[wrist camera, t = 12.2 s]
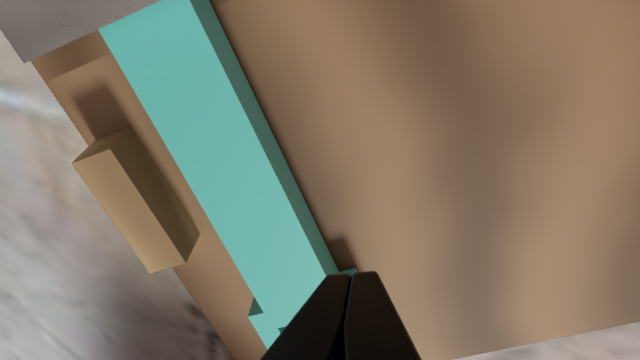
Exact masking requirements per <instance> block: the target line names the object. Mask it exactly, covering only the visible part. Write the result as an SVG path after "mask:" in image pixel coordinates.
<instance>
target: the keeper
mask: <svg viewBox="0 0 640 360" xmlns="http://www.w3.org/2000/svg"><path fill="white" fill-rule="evenodd" d="M158 1H161V0H0V29H1V31H2V32H3V34H4V35H5V37H6V38H7V39H8V41H9V42H10V44H11V45H12V47H13V48H14V50H15V51H16V52H17V54H18V55H19V57H20V58H21V60H22V61H23V63H26V62H28V61H30V60H32V59H35V58H37V57H39V56H41V55H43V54H45V53H48V52H50V51H52V50H54V49H56V48H58V47H61V46H63V45H65V44H67V43H69V42H71V41H74V40H76V39H78V38H80V37H82V36H85V35H87V34H89V33H91V32H93V31H95V30H98V29H100V28H102V27H104V26H106V25H108V24H111V23H113V22H115V21H117V20H119V19H121V18H124V17H126V16H128V15H130V14H132V13H135V12H137V11H139V10H141V9H143V8H145V7H148V6H150V5H152V4H154V3H156V2H158Z"/></svg>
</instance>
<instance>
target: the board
mask: <svg viewBox="0 0 640 360" xmlns="http://www.w3.org/2000/svg"><path fill="white" fill-rule="evenodd" d="M209 1H210V4H211V6H212V8H213V10H214V12H215V14H216V16H217V18H218V20H219V22H220V24H221V27H222V29H223V31H224V33H225V35H226V37H227V39H228V41H229V43H230V45H231V47H232V50H233V52H234V54H235V56H236V58H237V60H238V62H239V64H240V66H241V68H242V70H243V73H244V75H245V77H246V79H247V81H248V83H249V85H250V87H251V89H252V91H253V93H254V96H255V98H256V100H257V102H258V104H259V106H260V108H261V110H262V112H263V114H264V116H265V118H266V121H267V123H268V125H269V127H270V129H271V131H272V133H273V135H274V137H275V139H276V141H277V144H278V146H279V148H280V150H281V152H282V154H283V156H284V158H285V160H286V162H287V164H288V167H289V169H290V171H291V173H292V175H293V177H294V179H295V181H296V183H297V185H298V187H299V190H300V192H301V194H302V196H303V198H304V200H305V202H306V204H307V206H308V208H309V210H310V213H311V215H312V217H313V219H314V221H315V223H316V225H317V227H318V229H319V231H320V233H321V235H322V238H323V240H324V242H325V244H326V246H327V248H328V250H329V252H330V254H331V256H332V258H333V261H334V263H335V265H336V267H337V269H338V271H339V272H341V271H345V270H349V269H353V268H356V270H357V272H364V271H376V272H377V273H378V275H379V277H380V278H381V280H382V282H383V284H384V286H385V288H386V290H387V292H388V294H389V296H390V298H391V300H392V302H393V304H394V306H395V308H396V310H397V312H398V314H399V316H400V318H401V320H402V322H403V324H404V326H405V328H406V330H407V332H408V334H409V335H410V337H411V339H412V341H413V343H414V345H415V347H416V349H417V351H418V353H419V355H420V357H421V359H422V360H452V359H457V358H462V357H467V356H472V355H477V354H482V353H487V352H491V351H496V350H501V349H506V348H511V347H516V346H521V345H526V344H531V343H536V342H541V341H546V340H551V339H556V338H561V337H566V336H571V335H576V334H580V333H585V332H590V331H595V330H600V329H605V328H610V327H615V326H620V325H625V324H630V323H635V322H640V0H209ZM30 61H31V62H32V64H33V65H34V67H35V68H36V70H37V71H38V73H39V74H40V75H41V77H42V78H43V80H44V81H45V83H46V84H47V86H48V87H49V89H50V90H51V92H52V93H53V94H54V96H55V97H56V99H57V100H58V102H59V103H60V105H61V106H62V108H63V109H64V111H65V112H66V113H67V115H68V116H69V118H70V119H71V121H72V122H73V124H74V125H75V127H76V128H77V129H78V131H79V132H80V134H81V135H82V137H83V138H84V140H85V141H86V143H87V144H88V146H89V147H88V148H87V149H86V150H85V151H84V152H83V153H82V154H81V155H80V156H78V157H77V158H76V159H75V160H74V161H73V162H72V163H71V164H72V165H73V167H74V168H75V169H76V171H77V172H78V174H79V175H80V176H81V178H82V179H83V181H84V182H85V184H86V185H87V186H88V188H89V189H90V191H91V192H92V193H93V195H94V196H95V198H96V199H97V200H98V202H99V203H100V205H101V206H102V207H103V209H104V210H105V212H106V213H107V214H108V216H109V217H110V219H111V220H112V221H113V223H114V224H115V226H116V227H117V228H118V230H119V231H120V233H121V234H122V235H123V237H124V238H125V240H126V241H127V242H128V244H129V245H130V247H131V248H132V249H133V251H134V252H135V254H136V255H137V256H138V258H139V259H140V261H141V262H142V263H143V265H144V266H145V268H146V269H147V270H148V272H149V273H150V274H151V273H154V272H158V271H161V270H165V269H168V268H173V270H174V271H175V273H176V274H177V275H178V277H179V278H180V280H181V281H182V283H183V284H184V286H185V287H186V289H187V290H188V292H189V293H190V294H191V296H192V297H193V299H194V300H195V302H196V303H197V305H198V306H199V308H200V309H201V311H202V312H203V313H204V315H205V316H206V318H207V319H208V321H209V322H210V324H211V325H212V327H213V328H214V330H215V331H216V332H217V334H218V335H219V337H220V338H221V340H222V341H223V343H224V344H225V346H226V347H227V349H228V350H229V351H230V353H231V354H232V356H233V357H234V359H235V360H260V359H261V357H262V356H263V355H264V354H265V352H266V351H267V348H266V346H265V345H264V343H263V341H262V340H261V338H260V336H259V335H258V333H257V331H256V330H255V328H254V326H253V325H252V323H251V321H250V320H249V318H248V314H249V311H250V307H251V304H252V301H253V297H254V295H253V294H252V292H251V290H250V289H249V287H248V285H247V284H246V282H245V280H244V278H243V277H242V275H241V273H240V272H239V270H238V268H237V266H236V265H235V263H234V261H233V260H232V258H231V256H230V254H229V253H228V251H227V249H226V248H225V246H224V244H223V242H222V241H221V239H220V237H219V236H218V234H217V232H216V230H215V229H214V227H213V225H212V224H211V222H210V220H209V218H208V217H207V215H206V213H205V212H204V210H203V208H202V206H201V205H200V203H199V201H198V200H197V198H196V196H195V194H194V193H193V191H192V189H191V188H190V186H189V184H188V183H187V181H186V179H185V177H184V176H183V174H182V172H181V171H180V169H179V167H178V165H177V164H176V162H175V160H174V159H173V157H172V155H171V153H170V152H169V150H168V148H167V147H166V145H165V143H164V141H163V140H162V138H161V136H160V135H159V133H158V131H157V129H156V128H155V126H154V124H153V123H152V121H151V119H150V117H149V116H148V114H147V112H146V111H145V109H144V107H143V105H142V104H141V102H140V100H139V99H138V97H137V95H136V93H135V92H134V90H133V88H132V87H131V85H130V83H129V82H128V80H127V78H126V76H125V75H124V73H123V71H122V70H121V68H120V66H119V64H118V63H117V61H116V59H115V58H114V56H113V54H112V52H111V51H110V49H109V47H108V46H107V44H106V42H105V40H104V39H103V37H102V35H101V34H100V32H99V30H95V31H93V32H91V33H89V34H87V35H85V36H82V37H80V38H78V39H76V40H74V41H71V42H69V43H67V44H65V45H63V46H61V47H58V48H56V49H54V50H52V51H50V52H48V53H45V54H43V55H41V56H39V57H37V58H35V59H32V60H30Z"/></svg>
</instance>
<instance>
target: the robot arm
mask: <svg viewBox="0 0 640 360" xmlns="http://www.w3.org/2000/svg"><path fill="white" fill-rule="evenodd" d="M260 360H422V359H421V357H420V355H419V353H418V351H417V349H416V347H415V345H414V343H413V341H412V339H411V337H410V335H409V334H408V332H407V330H406V328H405V326H404V324H403V322H402V320H401V318H400V316H399V314H398V312H397V310H396V308H395V306H394V304H393V302H392V300H391V298H390V296H389V294H388V292H387V290H386V288H385V286H384V284H383V282H382V280H381V278H380V277H379V275H378V273H377V272H376V271H364V272H355V273H354V274H353V275H351V274H349V273H340V274H330V275H327V276H326V277H325V278H324V279H323V280H322V282H321V283H320V284H319V285H318V287H317V288H316V289H315V291H314V292H313V293H312V294H311V296H310V297H309V298H308V299H307V301H306V302H305V303H304V304H303V306H302V307H301V308H300V309H299V311H298V312H297V313H296V314H295V316H294V317H293V318H292V320H291V321H290V322H289V323H288V325H287V326H286V327H285V328H284V330H283V331H282V332H281V333H280V335H279V336H278V337H277V338H276V340H275V341H274V342H273V344H272V345H271V346H270V347H269V349H268V350H267V351H266V352H265V354H264V355H263V356H262V357H261V359H260Z"/></svg>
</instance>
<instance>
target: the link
mask: <svg viewBox="0 0 640 360" xmlns="http://www.w3.org/2000/svg"><path fill="white" fill-rule="evenodd" d="M98 30H99V32H100V34H101V35H102V37H103V39H104V40H105V42H106V44H107V46H108V47H109V49H110V51H111V52H112V54H113V56H114V58H115V59H116V61H117V63H118V64H119V66H120V68H121V70H122V71H123V73H124V75H125V76H126V78H127V80H128V82H129V83H130V85H131V87H132V88H133V90H134V92H135V93H136V95H137V97H138V99H139V100H140V102H141V104H142V105H143V107H144V109H145V111H146V112H147V114H148V116H149V117H150V119H151V121H152V123H153V124H154V126H155V128H156V129H157V131H158V133H159V135H160V136H161V138H162V140H163V141H164V143H165V145H166V147H167V148H168V150H169V152H170V153H171V155H172V157H173V159H174V160H175V162H176V164H177V165H178V167H179V169H180V171H181V172H182V174H183V176H184V177H185V179H186V181H187V183H188V184H189V186H190V188H191V189H192V191H193V193H194V194H195V196H196V198H197V200H198V201H199V203H200V205H201V206H202V208H203V210H204V212H205V213H206V215H207V217H208V218H209V220H210V222H211V224H212V225H213V227H214V229H215V230H216V232H217V234H218V236H219V237H220V239H221V241H222V242H223V244H224V246H225V248H226V249H227V251H228V253H229V254H230V256H231V258H232V260H233V261H234V263H235V265H236V266H237V268H238V270H239V272H240V273H241V275H242V277H243V278H244V280H245V282H246V284H247V285H248V287H249V289H250V290H251V292H252V294H253V295H254V297H253V301H252V304H251V307H250V311H249V314H248V318H249V320H250V321H251V323H252V325H253V326H254V328H255V330H256V331H257V333H258V335H259V336H260V338H261V340H262V341H263V343H264V345H265V346H266V348H267V350H268V349H269V347H270V346H271V345H272V344H273V342H274V341H275V340H276V338H277V337H278V336H279V335H280V333H281V332H282V331H283V330H284V328H285V327H286V326H287V325H288V323H289V322H290V321H291V320H292V318H293V317H294V316H295V314H296V313H297V312H298V311H299V309H300V308H301V307H302V306H303V304H304V303H305V302H306V301H307V299H308V298H309V297H310V296H311V294H312V293H313V292H314V291H315V289H316V288H317V287H318V285H319V284H320V283H321V282H322V280H323V279H324V278H325V277H326V276H327V275H330V274H340V273H349V274H351V275H353V274H354V273H355V272H357V270H356V268H353V269H349V270H345V271H341V272H339V271H338V269H337V267H336V265H335V263H334V261H333V258H332V256H331V254H330V252H329V250H328V248H327V246H326V244H325V242H324V240H323V238H322V235H321V233H320V231H319V229H318V227H317V225H316V223H315V221H314V219H313V217H312V215H311V213H310V210H309V208H308V206H307V204H306V202H305V200H304V198H303V196H302V194H301V192H300V190H299V187H298V185H297V183H296V181H295V179H294V177H293V175H292V173H291V171H290V169H289V167H288V164H287V162H286V160H285V158H284V156H283V154H282V152H281V150H280V148H279V146H278V144H277V141H276V139H275V137H274V135H273V133H272V131H271V129H270V127H269V125H268V123H267V121H266V118H265V116H264V114H263V112H262V110H261V108H260V106H259V104H258V102H257V100H256V98H255V96H254V93H253V91H252V89H251V87H250V85H249V83H248V81H247V79H246V77H245V75H244V73H243V70H242V68H241V66H240V64H239V62H238V60H237V58H236V56H235V54H234V52H233V50H232V47H231V45H230V43H229V41H228V39H227V37H226V35H225V33H224V31H223V29H222V27H221V24H220V22H219V20H218V18H217V16H216V14H215V12H214V10H213V8H212V6H211V4H210V1H209V0H161V1H158V2H156V3H154V4H152V5H150V6H148V7H145V8H143V9H141V10H139V11H137V12H135V13H132V14H130V15H128V16H126V17H124V18H121V19H119V20H117V21H115V22H113V23H111V24H108V25H106V26H104V27H102V28H100V29H98Z"/></svg>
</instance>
